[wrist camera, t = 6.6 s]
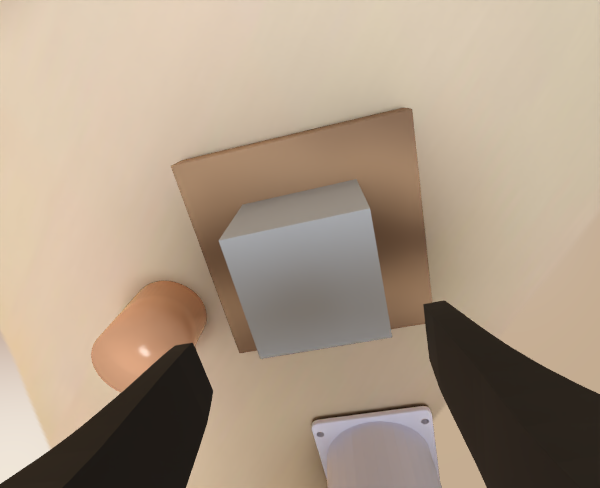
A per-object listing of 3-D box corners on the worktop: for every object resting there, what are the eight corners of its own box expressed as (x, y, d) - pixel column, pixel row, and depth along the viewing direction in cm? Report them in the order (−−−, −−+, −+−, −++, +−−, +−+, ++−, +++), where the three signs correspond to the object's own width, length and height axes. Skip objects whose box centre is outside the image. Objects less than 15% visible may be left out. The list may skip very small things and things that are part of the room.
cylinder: (216, 335, 22) (192, 391, 18) (151, 346, 23) (114, 403, 19) (192, 274, 20) (160, 320, 16) (123, 287, 21) (75, 335, 17)
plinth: (425, 305, 21) (434, 322, 19) (244, 335, 22) (239, 353, 20) (403, 107, 16) (411, 109, 15) (182, 160, 18) (170, 166, 16)
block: (375, 282, 18) (392, 337, 14) (272, 301, 19) (260, 358, 15) (356, 179, 16) (370, 208, 12) (242, 204, 17) (218, 240, 13)
